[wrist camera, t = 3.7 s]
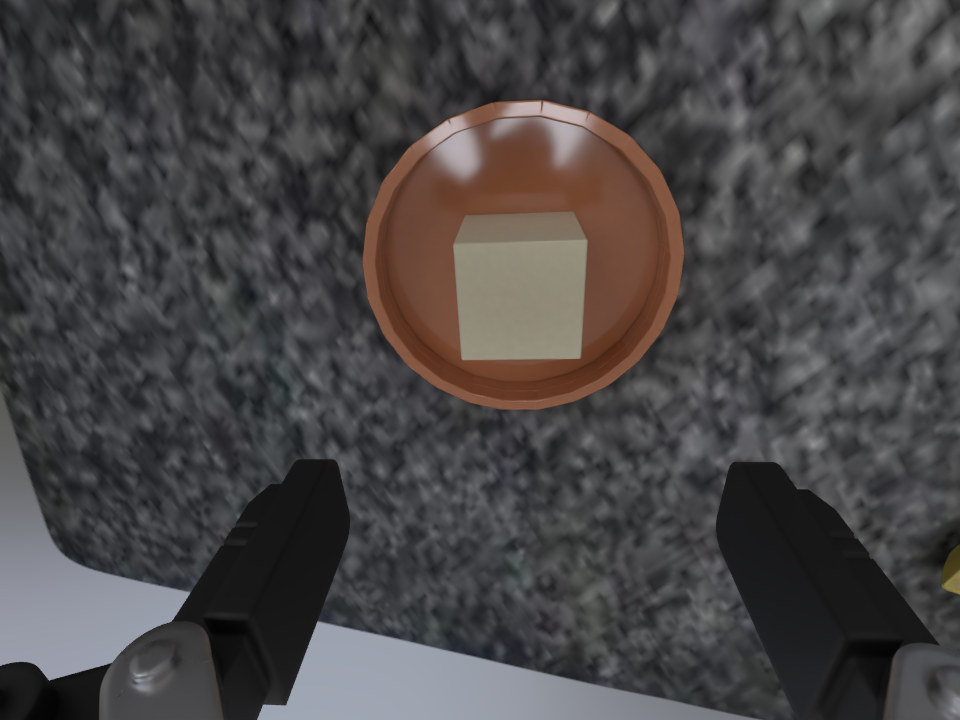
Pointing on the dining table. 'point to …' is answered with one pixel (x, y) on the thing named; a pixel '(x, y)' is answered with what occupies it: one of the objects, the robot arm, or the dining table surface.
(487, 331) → the block
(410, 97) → the dining table surface
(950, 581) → the saucer
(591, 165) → the terracotta dish
